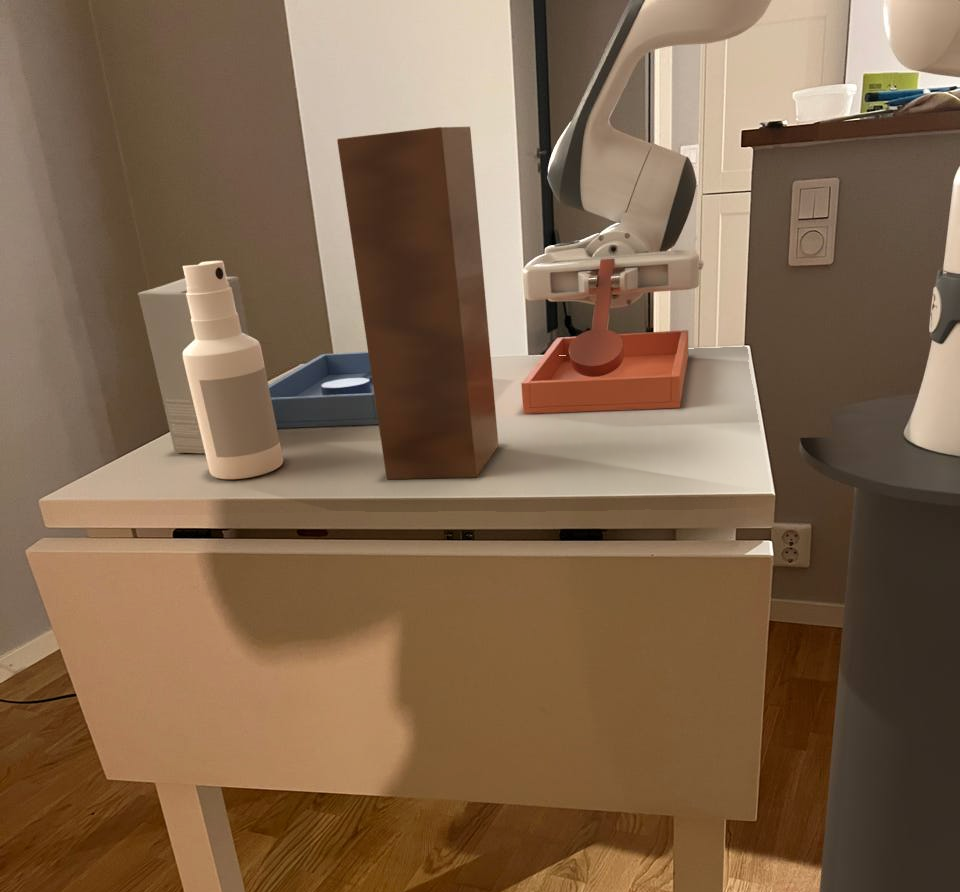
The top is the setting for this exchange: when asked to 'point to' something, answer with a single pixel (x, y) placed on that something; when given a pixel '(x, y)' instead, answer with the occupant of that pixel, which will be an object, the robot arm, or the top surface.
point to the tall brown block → (422, 298)
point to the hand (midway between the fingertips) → (603, 285)
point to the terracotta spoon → (598, 333)
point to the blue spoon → (348, 386)
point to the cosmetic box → (177, 355)
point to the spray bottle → (228, 381)
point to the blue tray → (306, 405)
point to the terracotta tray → (611, 377)
